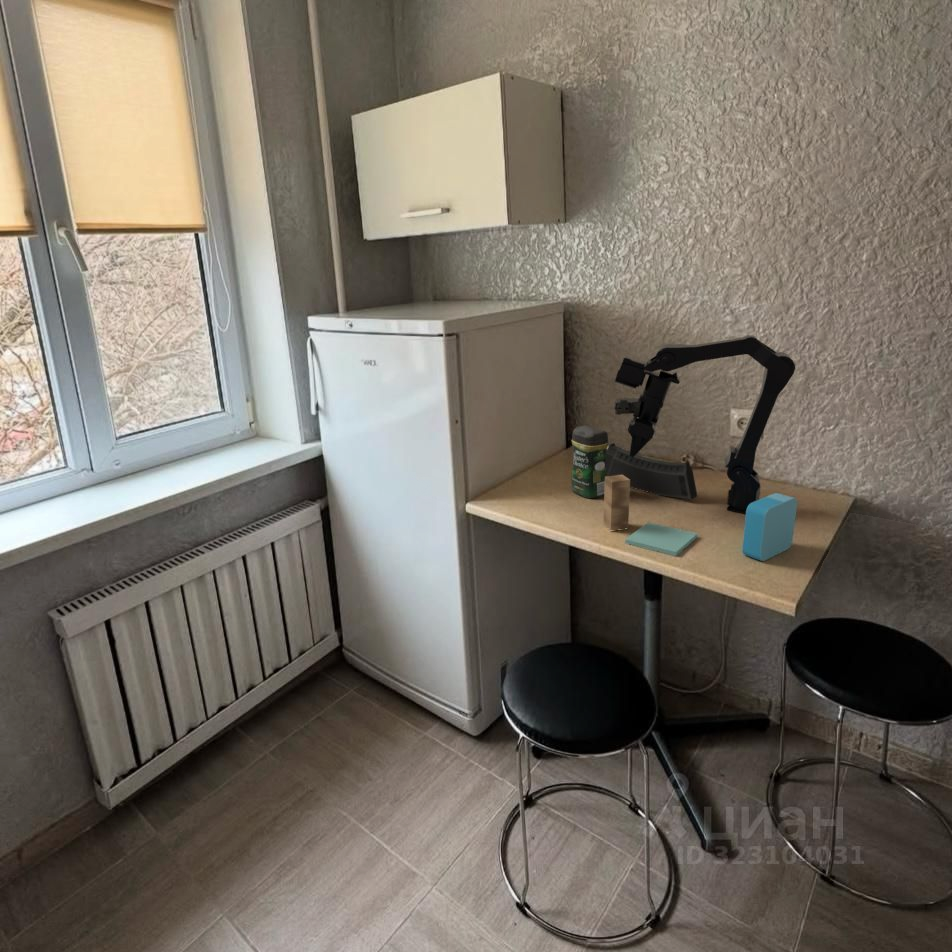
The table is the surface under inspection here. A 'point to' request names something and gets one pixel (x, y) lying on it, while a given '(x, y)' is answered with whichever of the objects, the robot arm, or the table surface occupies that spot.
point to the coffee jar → (589, 461)
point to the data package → (769, 526)
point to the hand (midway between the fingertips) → (633, 451)
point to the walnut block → (616, 502)
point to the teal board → (661, 538)
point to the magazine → (651, 473)
